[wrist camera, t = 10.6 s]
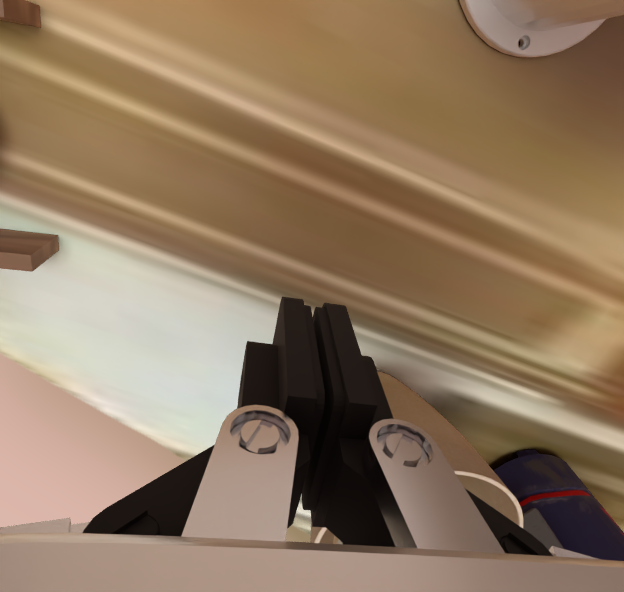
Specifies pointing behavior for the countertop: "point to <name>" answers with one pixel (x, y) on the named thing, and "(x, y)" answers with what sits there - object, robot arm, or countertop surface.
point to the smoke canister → (560, 507)
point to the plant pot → (454, 448)
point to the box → (9, 243)
